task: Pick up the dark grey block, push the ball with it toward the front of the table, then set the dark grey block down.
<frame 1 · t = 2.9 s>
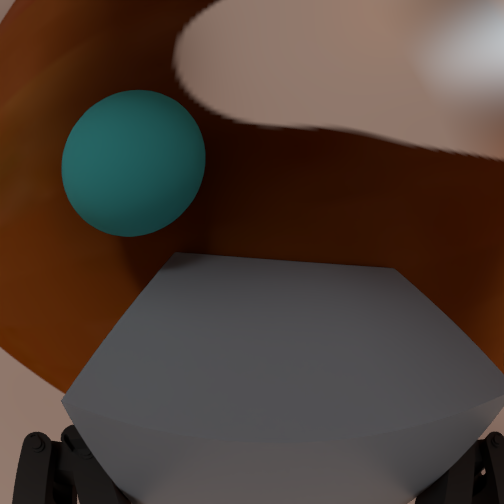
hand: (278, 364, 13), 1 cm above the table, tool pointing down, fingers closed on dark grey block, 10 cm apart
ball: (132, 162, 8), on the table
dark grey block: (277, 354, 14), on the table, touching gripper
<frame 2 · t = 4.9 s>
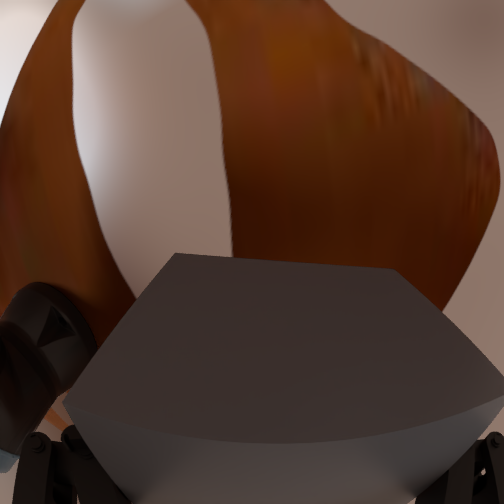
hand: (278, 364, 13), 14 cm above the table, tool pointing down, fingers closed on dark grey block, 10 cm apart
dark grey block: (277, 354, 14), point 13 cm above the table, touching gripper
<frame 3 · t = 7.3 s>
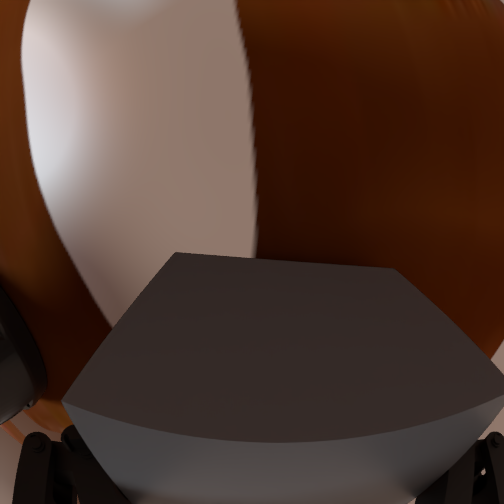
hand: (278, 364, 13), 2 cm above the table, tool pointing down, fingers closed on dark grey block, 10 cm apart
dark grey block: (277, 354, 14), point 1 cm above the table, touching gripper
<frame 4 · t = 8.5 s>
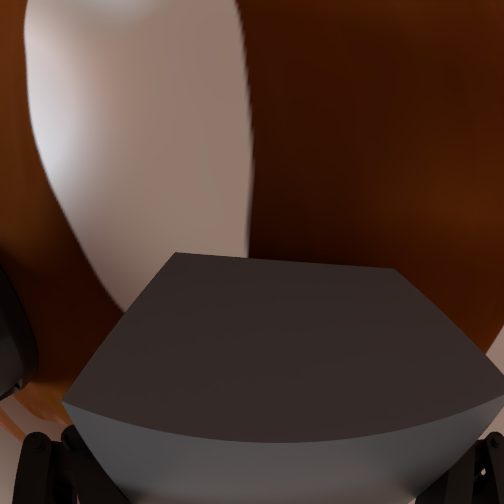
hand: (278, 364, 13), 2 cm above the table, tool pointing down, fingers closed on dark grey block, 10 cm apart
dark grey block: (277, 354, 14), point 1 cm above the table, touching gripper
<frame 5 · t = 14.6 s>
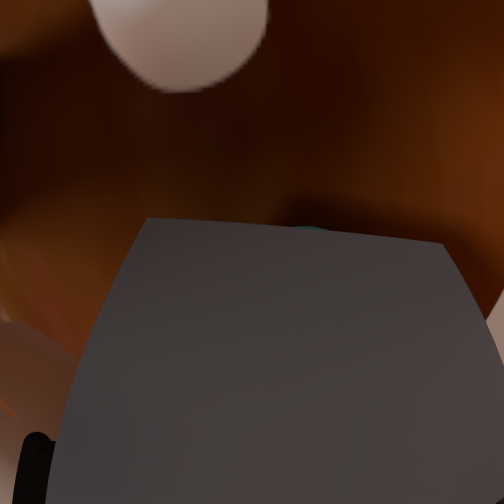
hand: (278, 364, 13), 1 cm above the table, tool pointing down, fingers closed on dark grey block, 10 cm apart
dark grey block: (287, 325, 12), point 2 cm above the table, tilted 23°, touching ball, gripper
when the fingers open (1 cm above the table, at t = 15.0 s): dark grey block drops 2 cm, on the table.
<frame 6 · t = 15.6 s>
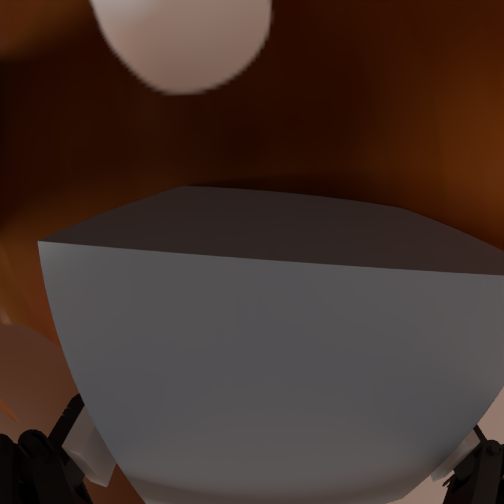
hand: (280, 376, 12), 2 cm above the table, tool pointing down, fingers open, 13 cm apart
dark grey block: (286, 301, 13), on the table
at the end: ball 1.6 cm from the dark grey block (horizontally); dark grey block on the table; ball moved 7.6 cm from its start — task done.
